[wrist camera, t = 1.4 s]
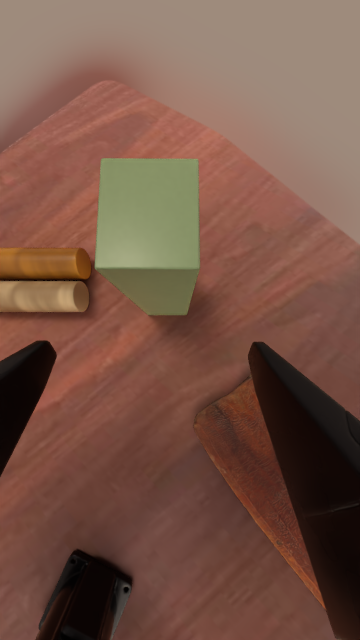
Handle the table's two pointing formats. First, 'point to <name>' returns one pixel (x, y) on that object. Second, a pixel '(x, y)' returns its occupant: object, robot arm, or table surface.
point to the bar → (150, 231)
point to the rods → (44, 267)
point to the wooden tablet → (254, 472)
